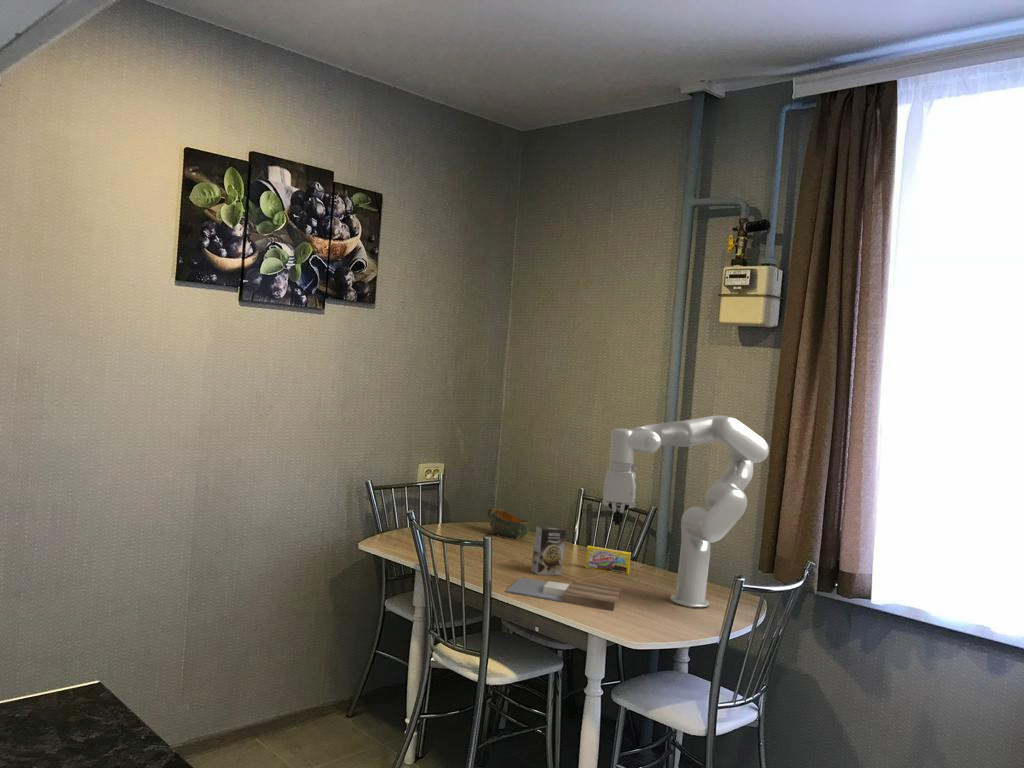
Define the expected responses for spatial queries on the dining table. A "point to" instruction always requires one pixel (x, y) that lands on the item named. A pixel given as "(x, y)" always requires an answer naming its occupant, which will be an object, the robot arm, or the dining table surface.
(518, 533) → the green gourd bowl
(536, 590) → the mat
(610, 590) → the board
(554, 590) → the tile
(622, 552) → the candy box
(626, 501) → the robot arm
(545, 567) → the cookie box
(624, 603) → the dining table surface
